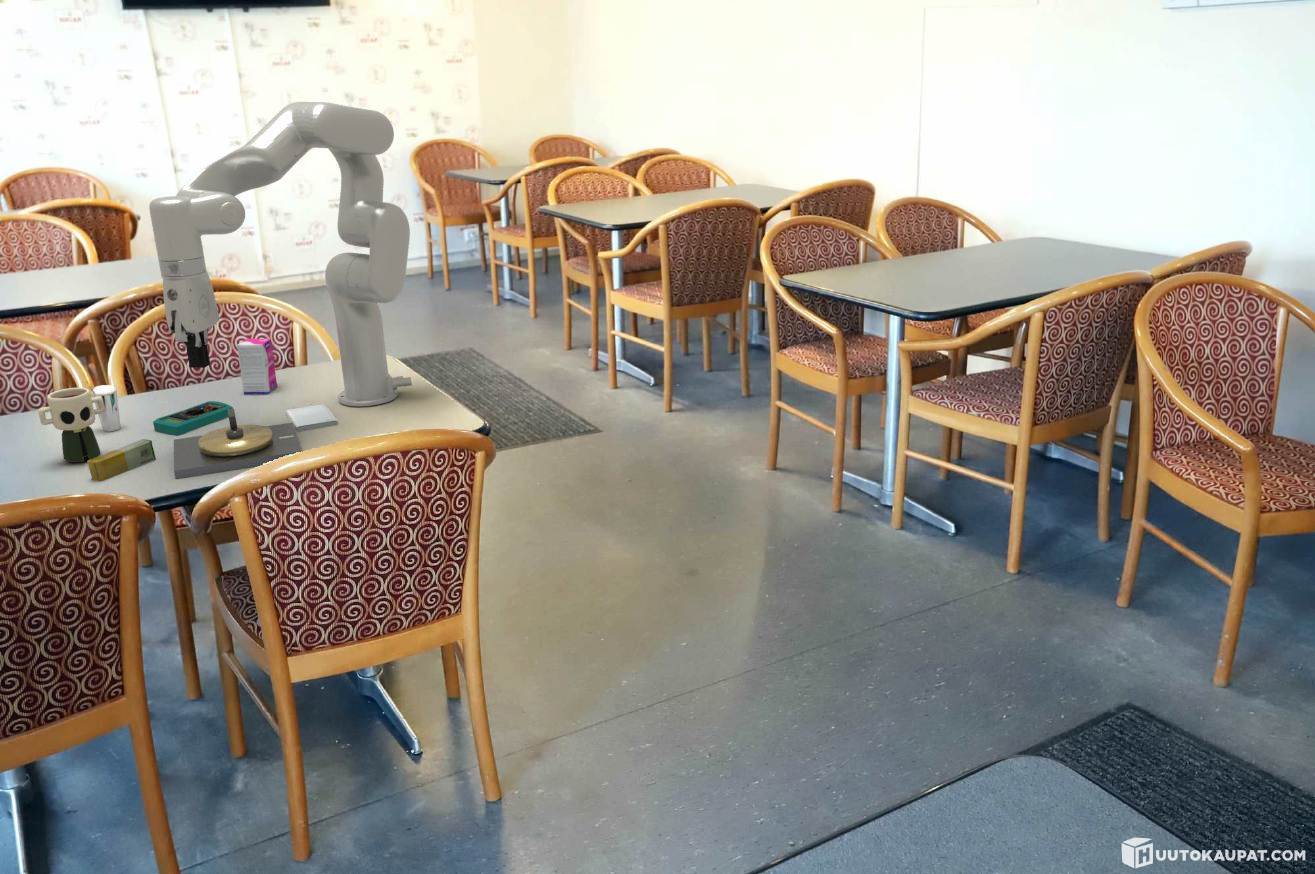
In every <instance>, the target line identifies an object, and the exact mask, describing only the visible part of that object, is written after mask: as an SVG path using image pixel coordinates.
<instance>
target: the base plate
mask: <svg viewBox="0 0 1315 874" xmlns="http://www.w3.org/2000/svg"><path fill="white" fill-rule="evenodd" d="M265 427H268V428H269V429H271V431H272V437H273V441H272V442H271V444H269V445H268V446H266V447H264V448H262V449H260V450H257V451H254V452H250V453H246V454H241V455H234V456H211V455H206V454H204V453H202V452H201V451H200V448H199V443H198V441H199V439H200V438H201V437H202V436H203V435H204V434H203V435H196V436H195V435H194V436H189V437H183V438H175V439H173V472H174V478H175V480H176V479H177V480H178V479H183V478H189V477H197V476H202V475H208V474H215V473H220V472H227V471H228V472H229V471H233V470H241V469H246V468H253V467H259V466H258V465H260V466H263V465H262V464H263V463H267V462H269V461H273V460H274V459H278V458H279V457H283V456H285V455H289V454H294V453H296V452H301V451H303V449H302V445H301V443H300V440H299V437H298V433H297V431H296V430H295V428H294V425H293V423H291V422H286V423H279V424H273V425H266V426H265Z"/></svg>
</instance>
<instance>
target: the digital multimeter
mask: <svg viewBox="0 0 1315 874" xmlns="http://www.w3.org/2000/svg"><path fill="white" fill-rule="evenodd" d="M233 407H234V406H232V405H230V404H228V403H224V402H221V401H214V400H209V401H206V402H202V403H200V404H197V405H194V406H191V407H189V408H186V409H184V410H180V411H178V412H174V413H171V414H168V415H164V416H161V417H158V418H156V419H154V421H152V423H153V429H154V431H156V432H158V433H163V434H168V435H172V436H181V435H183V434H186V433H188V432H189V433H190V432H191V431H193V430H194V431H195V430H196V429H199V428H202V427H204V426H207V425H210V424H213V423H215V422H218V421H219V422H220V421H221V420H224V419H227V418H229V416H228V410H227V409H234V408H233Z"/></svg>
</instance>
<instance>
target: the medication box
mask: <svg viewBox="0 0 1315 874" xmlns="http://www.w3.org/2000/svg"><path fill="white" fill-rule="evenodd" d="M156 460H157V458H156V454H155V449H154V447H153V441H152V440H150V439H145V438H144V439H142V438H141V439H139V440H137V441H135V442H132V443H128V444H126V445H125V446H121V447H118V448H117V449H114V450H111V451H109V452H106V453H104V454H100V455H99V456H97V457H95V458H93V459H88V460H86V461H87V464H88V469H89V473H90V476H91V481H95V482H96V481H97V482H103V481H105V480H109V479H111V478H114V477H116V476H118V475H121V474H123V473H126V472H128V471H131V470H135V469H136V468H138V467H141V466H143V465H146V464H148V463H151V462H153V461H156Z"/></svg>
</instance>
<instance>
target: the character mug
mask: <svg viewBox="0 0 1315 874" xmlns="http://www.w3.org/2000/svg"><path fill="white" fill-rule="evenodd" d="M46 397H47V404H48V406H43V407H40V408H39V409H38V416H39V417H38V418H39V420H40V421H39V422H40V424H41V425H42V426H48V425H51V424H52V425H53V427H54V428H55V429H56V430H59V431H62V433H61V445H62V456H63V457H62V458H63V460H65V461H66V462H71V463H77V462H79V463H80V462H84V461H85V460H84V458H85V457H88V460H90V459H93V458H96V457H98V456H101V449H100V446H99V443H98V441H97V437H96V435H95V433H94V430H93V428H92V427H91V425H93V424H94V423H95V422H96V415H98V414H100V413H103V412H105V407H104V403H103V399H102V397H99V396H98V397H93V396H92V394H91V390H90V388H87V387H71V388H63V389H58V390H55V391H53V392H50V393H49V394H47V396H46ZM95 402H98V406H99V409H94V405H93V404H95ZM49 412H50V416H51V418H48V419H47V416H46V413H49Z"/></svg>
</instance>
